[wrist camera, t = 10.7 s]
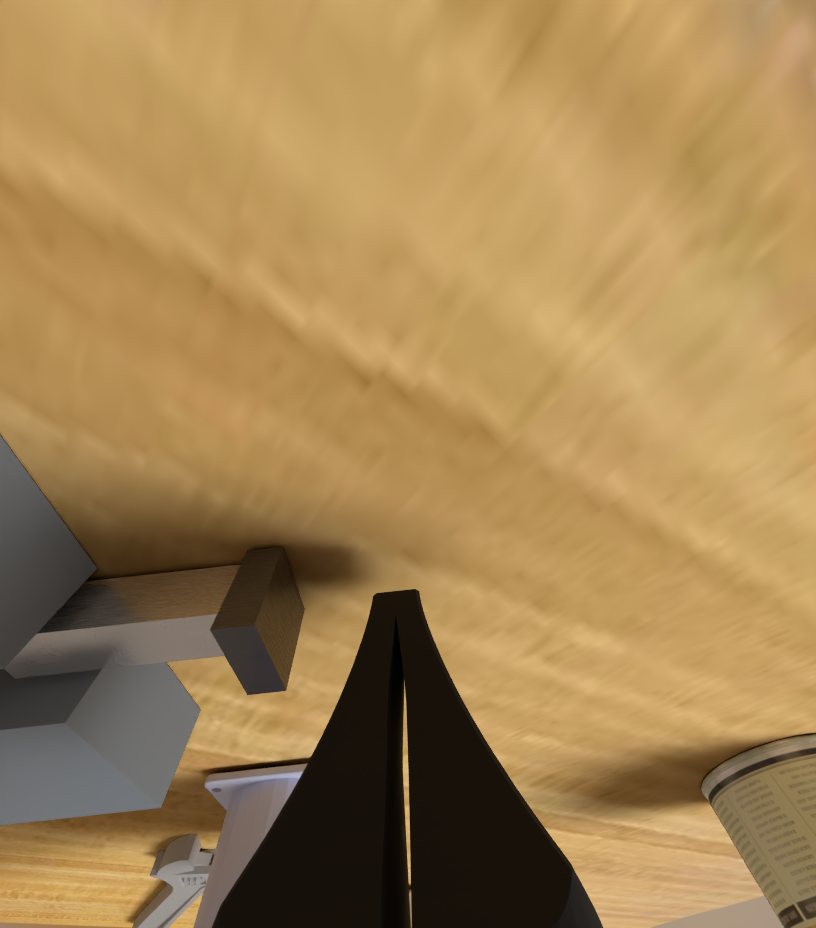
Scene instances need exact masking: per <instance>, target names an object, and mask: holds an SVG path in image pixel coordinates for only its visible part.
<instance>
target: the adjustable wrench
mask: <svg viewBox="0 0 816 928" xmlns="http://www.w3.org/2000/svg"><path fill="white" fill-rule="evenodd" d="M200 848H201V844H200V841H199V839H198V836H197V834H188V835H185V836H182V837H180V838H177V839H176V840H174V841H172V842H171V843H170V844H169V845H168V847H167V848H166V851H159V852H158V855H157V858H156V860H155V863H154V865H153V868H152V871H151V873H150V876H151V877H154V878H158V879H161V880H163V881H165V882H167V883H168V884H167V885H166V886H165V887H164V888H163V889H162V890H161V891H160V892H159V893H158V895H157V896H156V897H155V898H154V899H153V900H152V901H151V902H150V903H149V904H148V906H147V907H146V908H145V909H144V910H143V911H142V912H141V913H140V914H139V915H138V917H137V918H136V919H135V922H134V925H133V927H132V928H168V927H169V926H170V925H171V924H172V923H173V922H174V921H175V920H176V919H177V918H178V917H179V916H180V915H181V914H182V913H183V912H184V911H185V910H186V909H187V908H188V907H189V906H190V905H191V904H192V903H193V902H194V901H195V900H196V899H197V898H198V897H199V896H200V895H201V894H203V893H204V889H205V886H206V882H207V879H208V875H209V872H210V868H211V865H212V861H213V858H214V854H215V851H216V849H202V850H200Z"/></svg>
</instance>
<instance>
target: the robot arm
mask: <svg viewBox="0 0 816 928" xmlns="http://www.w3.org/2000/svg"><path fill="white" fill-rule="evenodd" d="M404 680H405V690H406V704H407V733H408V766H409V804H410V850H411V908H412V928H603V926H602V924H601V921H600V919H599V917H598V915H597V913H596V911H595V908H594V906H593V904H592V903H591V901H590V899H589V897H588V895H587V893H586V891H585V889H584V887H583V886H582V884H581V882H580V880H579V878H578V876H577V874H576V873H575V871H574V869H573V867H572V865H571V863H570V862H569V860H568V859H567V858H566V856H565V855H564V854H563V852H562V851H561V850H560V848H559V847H558V846H557V844H556V843H555V842H554V840H553V839H552V838H551V836H550V835H549V833H548V832H547V831H546V829H545V828H544V827H543V825H542V824H541V822H540V821H539V820H538V818H537V817H536V816H535V814H534V813H533V811H532V810H531V808H530V807H529V805H528V804H527V803H526V801H525V800H524V798H523V797H522V795H521V794H520V793H519V791H518V790H517V788H516V787H515V785H514V784H513V782H512V781H511V779H510V778H509V776H508V774H507V773H506V771H505V770H504V768H503V767H502V765H501V764H500V762H499V761H498V759H497V758H496V756H495V754H494V753H493V751H492V750H491V748H490V747H489V745H488V743H487V742H486V740H485V738H484V737H483V735H482V733H481V732H480V730H479V728H478V727H477V725H476V723H475V722H474V720H473V718H472V716H471V715H470V713H469V711H468V709H467V708H466V706H465V704H464V702H463V700H462V698H461V697H460V695H459V693H458V691H457V689H456V687H455V685H454V683H453V681H452V679H451V677H450V675H449V673H448V671H447V669H446V667H445V665H444V663H443V660H442V658H441V656H440V654H439V651H438V649H437V647H436V644H435V642H434V640H433V637H432V635H431V632H430V629H429V627H428V624H427V621H426V618H425V615H424V612H423V608H422V604H421V600H420V594H419V591H418V590H416V589H412V590H403V591H393V592H384V593H376V594H375V595H374V596H373V601H372V606H371V610H370V615H369V618H368V622H367V625H366V629H365V632H364V635H363V638H362V641H361V644H360V647H359V650H358V653H357V656H356V659H355V661H354V664H353V667H352V669H351V672H350V674H349V677H348V679H347V682H346V684H345V686H344V689H343V691H342V694H341V696H340V699H339V701H338V703H337V705H336V707H335V710H334V712H333V714H332V716H331V718H330V720H329V723H328V725H327V727H326V729H325V731H324V733H323V735H322V737H321V739H320V741H319V743H318V745H317V747H316V749H315V750H314V752H313V754H312V756H311V758H310V760H309V762H308V763H307V764H298V765H289V766H280V767H271V768H262V769H253V770H244V771H235V772H226V773H217V774H211V775H209V776H207V778H206V781H205V784H204V785H205V788H206V789H207V790H208V791H209V792H210V793H211V794H212V795H213V796H214V797H215V799H216V800H217V801H218V802H219V803H220V804H221V805H222V806H223V807H224V809H225V810H226V811H227V812H226V816H225V819H224V823H223V826H222V830H221V833H220V837H219V840H218V844H217V847H216V851H215V854H214V858H213V861H212V865H211V868H210V872H209V875H208V879H207V882H206V886H205V889H204V893H203V896H202V900H201V903H200V907H199V910H198V914H197V917H196V921H195V924H194V928H411V918H410V901H409V883H408V865H407V847H406V827H405V808H404V787H403V711H404Z"/></svg>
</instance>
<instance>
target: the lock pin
mask: <svg viewBox="0 0 816 928" xmlns="http://www.w3.org/2000/svg"><path fill="white" fill-rule="evenodd" d="M304 610H305V609H304V606H303V603H302V600H301V597H300V595H299V592H298V589H297V586H296V583H295V580H294V578H293V575H292V572H291V569H290V566H289V564H288V561H287V558H286V555H285V552H284V549H283V547H275V548H266V549H256V550H247V552H246V554H245V556H244V558H243V561H242V563H241V565H232V566H223V567H214V568H205V569H196V570H186V571H177V572H168V573H159V574H149V575H140V576H131V577H122V578H112V579H103V580H94V581H85V582H84V583H83V584H82V585H81V586H80V587H79V589H78V590H77V591H76V592H75V593H74V594H73V595H72V596H71V597H70V598H69V599H68V600H67V601H66V603H65V604H64V605H63V606H62V607H61V608H60V609H59V610H58V611H57V612H56V613H55V614H54V615H53V617H52V618H51V619H50V620H49V621H48V622H47V623H46V624H45V625H44V626H43V627H42V628H41V629H40V631H39V632H38V633H37V634H36V635H35V636H34V637H33V638H32V639H31V640H30V641H29V642H28V643H27V645H26V646H25V647H24V648H23V649H22V650H21V651H20V652H19V653H18V654H17V655H16V656H15V657H14V659H13V660H12V661H11V662H10V663H9V664H8V665H7V666H6V667H5V668H4V669H5V670H6V671H7V672H8V673H9V674H10V675H12V676H13V677H14V678H15V679H16V678H25V677H34V676H43V675H52V674H62V673H71V672H80V671H89V670H98V669H107V668H117V667H126V666H135V665H144V664H153V663H162V662H172V661H181V660H190V659H199V658H208V657H217V656H225V657H226V659H227V660H228V662H229V664H230V666H231V667H232V669H233V671H234V672H235V674H236V676H237V678H238V679H239V681H240V683H241V684H242V686H243V688H244V690H245V691H246V693H247V695H251V694H261V693H270V692H279V691H286V689H287V684H288V680H289V675H290V671H291V667H292V662H293V658H294V654H295V649H296V645H297V640H298V636H299V632H300V627H301V623H302V619H303V614H304Z"/></svg>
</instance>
